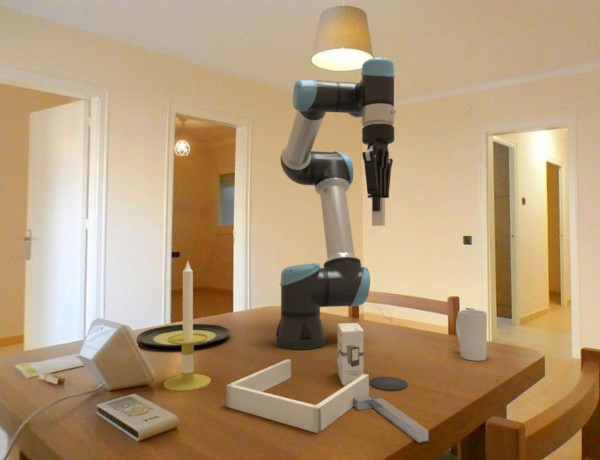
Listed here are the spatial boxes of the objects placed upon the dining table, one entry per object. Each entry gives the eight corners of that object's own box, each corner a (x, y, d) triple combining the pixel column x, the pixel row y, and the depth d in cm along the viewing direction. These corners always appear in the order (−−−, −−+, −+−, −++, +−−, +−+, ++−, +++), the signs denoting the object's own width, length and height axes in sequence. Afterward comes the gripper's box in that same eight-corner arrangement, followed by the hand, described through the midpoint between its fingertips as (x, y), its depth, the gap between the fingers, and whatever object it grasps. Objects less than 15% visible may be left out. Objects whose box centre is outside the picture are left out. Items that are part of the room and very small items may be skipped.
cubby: (226, 406, 80) (226, 385, 80) (287, 376, 97) (287, 359, 97) (317, 433, 69) (317, 408, 69) (368, 394, 86) (368, 374, 86)
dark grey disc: (363, 385, 91) (363, 384, 91) (378, 375, 98) (378, 374, 98) (399, 393, 87) (399, 392, 87) (412, 382, 93) (412, 380, 93)
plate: (183, 327, 151) (183, 320, 151) (248, 336, 137) (248, 328, 137) (115, 345, 126) (115, 337, 126) (187, 359, 113) (187, 349, 113)
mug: (493, 360, 110) (492, 313, 110) (471, 362, 108) (470, 314, 108) (467, 350, 119) (466, 306, 120) (446, 352, 117) (446, 308, 118)
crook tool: (400, 447, 65) (400, 435, 65) (353, 407, 80) (353, 397, 80) (428, 442, 67) (428, 430, 67) (377, 403, 82) (377, 394, 82)
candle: (188, 372, 100) (188, 257, 100) (220, 380, 95) (220, 258, 95) (153, 385, 92) (153, 259, 92) (187, 394, 86) (187, 261, 87)
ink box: (336, 373, 100) (336, 322, 100) (357, 372, 100) (357, 322, 100) (341, 386, 91) (341, 330, 91) (364, 385, 91) (364, 330, 92)
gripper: (382, 117, 94) (382, 224, 94) (402, 129, 105) (403, 225, 105) (351, 122, 98) (351, 225, 98) (374, 133, 109) (374, 226, 109)
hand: (378, 225), depth 101 cm, fingers closed
